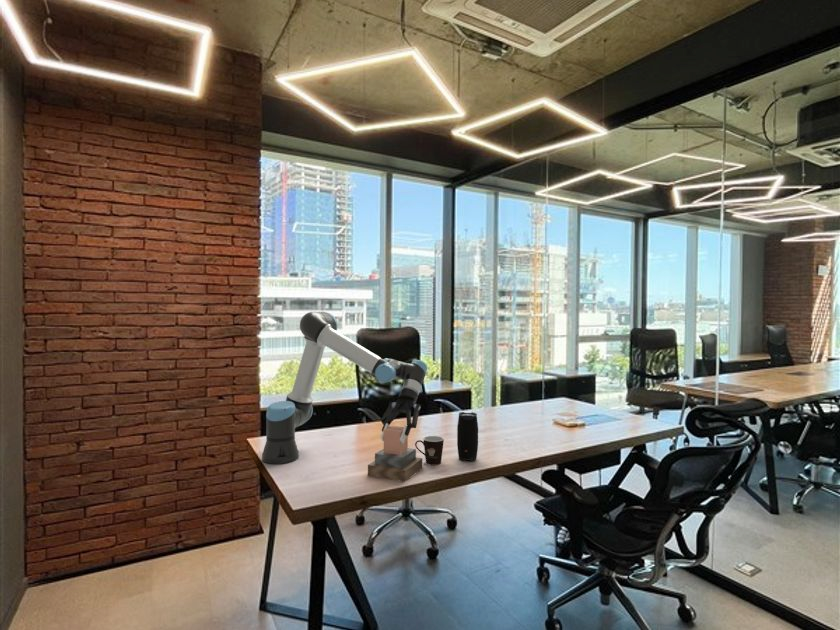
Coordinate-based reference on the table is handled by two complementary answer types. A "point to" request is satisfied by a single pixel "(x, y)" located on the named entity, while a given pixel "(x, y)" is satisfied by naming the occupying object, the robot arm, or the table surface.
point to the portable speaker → (467, 436)
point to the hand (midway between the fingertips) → (391, 440)
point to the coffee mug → (432, 449)
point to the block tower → (395, 465)
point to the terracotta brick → (394, 441)
